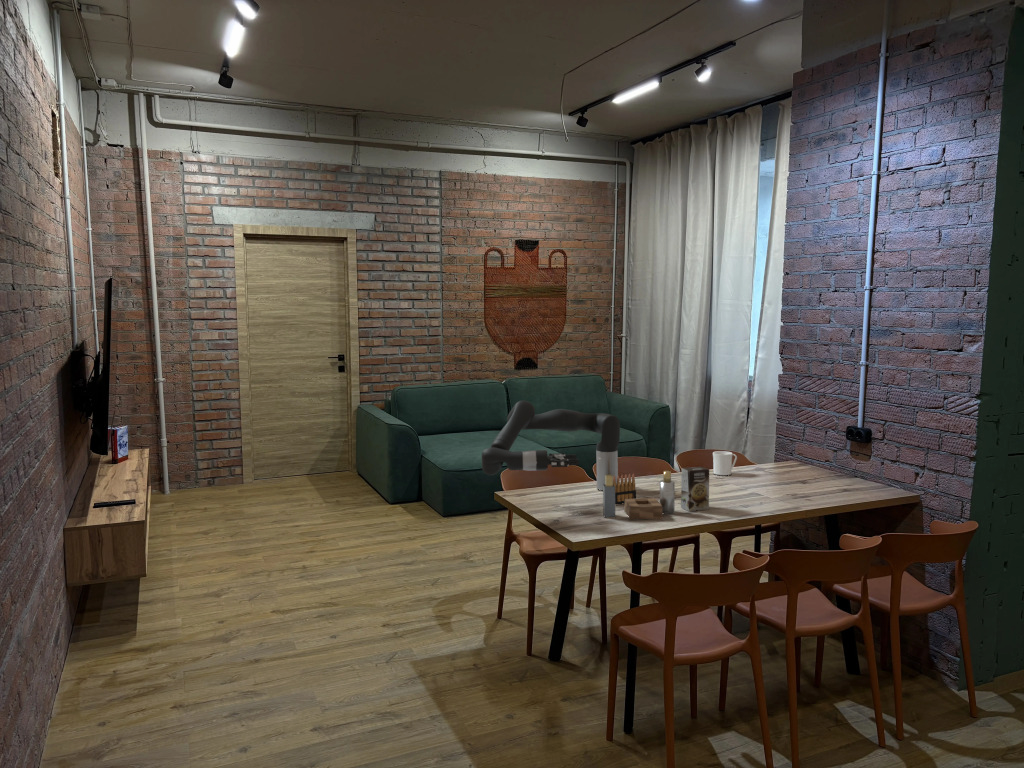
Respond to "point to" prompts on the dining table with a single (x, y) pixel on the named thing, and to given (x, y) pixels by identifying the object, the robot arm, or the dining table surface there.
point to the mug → (723, 463)
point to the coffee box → (695, 488)
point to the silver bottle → (667, 493)
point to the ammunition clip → (624, 488)
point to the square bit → (609, 497)
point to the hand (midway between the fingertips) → (577, 459)
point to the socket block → (643, 508)
